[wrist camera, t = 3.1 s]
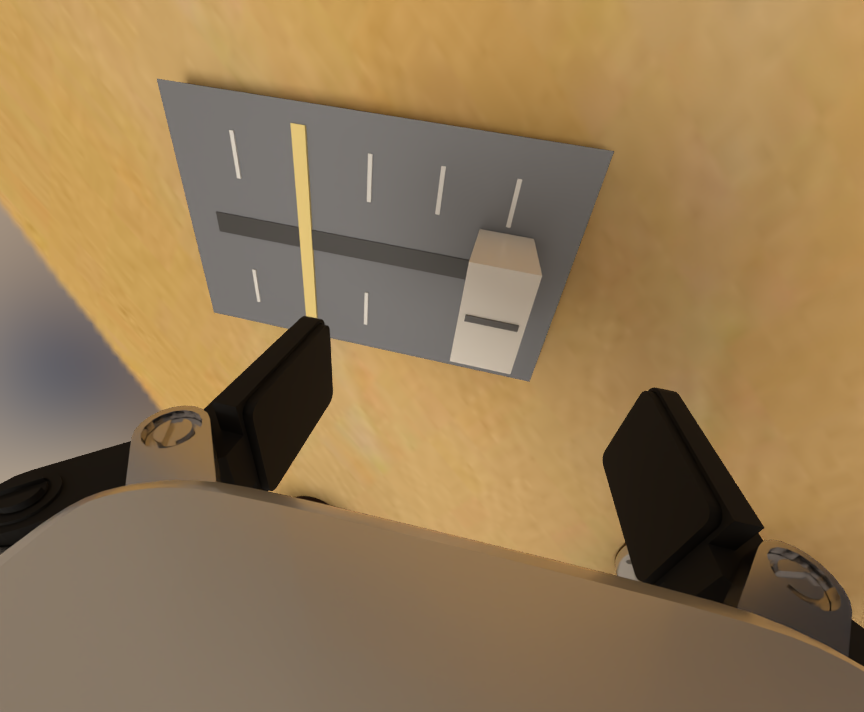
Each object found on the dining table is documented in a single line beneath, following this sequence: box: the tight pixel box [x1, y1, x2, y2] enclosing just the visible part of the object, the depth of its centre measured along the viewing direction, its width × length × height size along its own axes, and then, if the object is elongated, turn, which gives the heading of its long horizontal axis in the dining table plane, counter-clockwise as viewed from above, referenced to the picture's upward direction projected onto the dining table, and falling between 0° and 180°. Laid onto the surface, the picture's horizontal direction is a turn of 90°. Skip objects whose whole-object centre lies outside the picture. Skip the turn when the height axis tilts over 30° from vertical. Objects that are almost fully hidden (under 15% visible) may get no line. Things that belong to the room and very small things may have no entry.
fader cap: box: [450, 229, 542, 374], centre depth 18 cm, size 3×5×6 cm, turn 172°
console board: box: [157, 79, 614, 382], centre depth 22 cm, size 24×14×2 cm, turn 82°
